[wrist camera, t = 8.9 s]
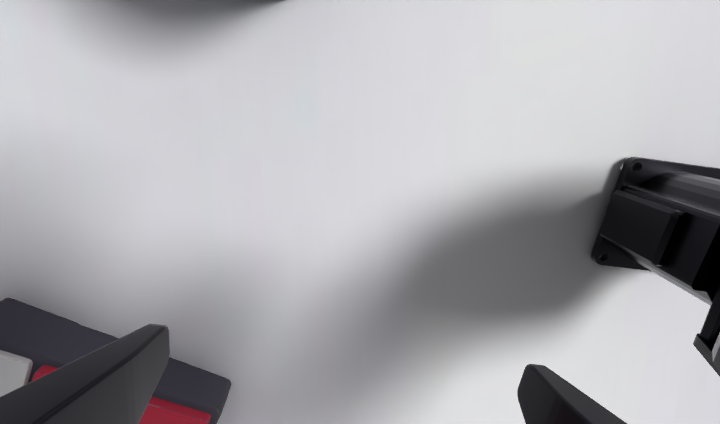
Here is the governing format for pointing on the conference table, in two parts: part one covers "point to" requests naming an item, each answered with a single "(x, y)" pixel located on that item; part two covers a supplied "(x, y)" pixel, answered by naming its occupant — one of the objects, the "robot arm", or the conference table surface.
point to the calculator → (72, 341)
